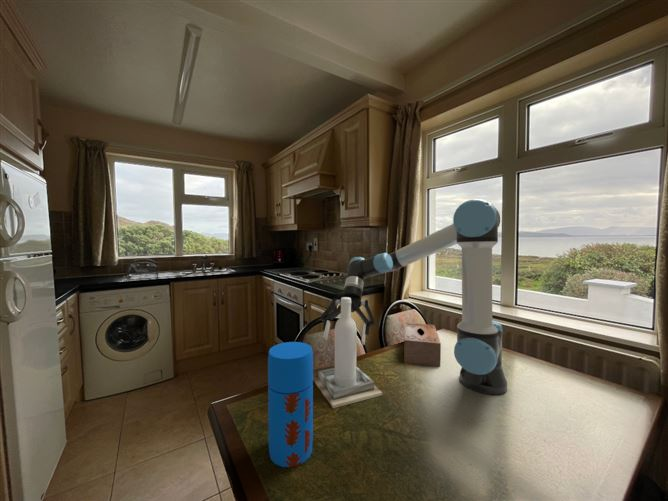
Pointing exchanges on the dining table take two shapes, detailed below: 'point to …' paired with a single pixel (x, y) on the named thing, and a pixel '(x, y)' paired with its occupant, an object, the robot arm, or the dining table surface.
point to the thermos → (290, 403)
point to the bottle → (345, 346)
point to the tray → (344, 395)
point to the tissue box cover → (422, 345)
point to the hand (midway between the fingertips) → (343, 340)
